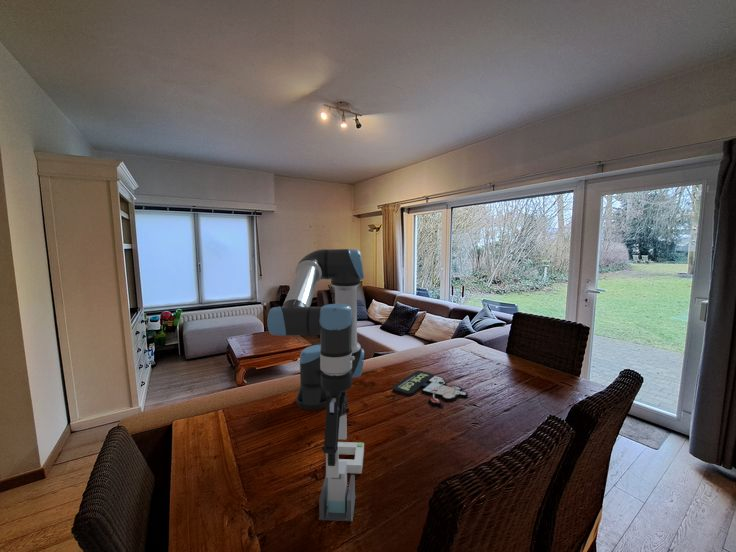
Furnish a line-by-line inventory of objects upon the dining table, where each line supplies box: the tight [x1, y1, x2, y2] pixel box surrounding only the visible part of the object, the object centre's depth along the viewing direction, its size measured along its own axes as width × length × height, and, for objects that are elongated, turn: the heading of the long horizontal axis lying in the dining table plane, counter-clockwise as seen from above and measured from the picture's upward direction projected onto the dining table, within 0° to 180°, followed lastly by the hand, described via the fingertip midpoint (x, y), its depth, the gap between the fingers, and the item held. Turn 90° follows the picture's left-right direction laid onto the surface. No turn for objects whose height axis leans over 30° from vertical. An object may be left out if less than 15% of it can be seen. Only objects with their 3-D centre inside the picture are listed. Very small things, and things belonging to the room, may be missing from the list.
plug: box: [328, 462, 348, 513], centre depth 73 cm, size 4×4×10 cm
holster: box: [318, 474, 357, 522], centre depth 73 cm, size 8×8×6 cm
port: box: [338, 441, 365, 474], centre depth 89 cm, size 10×10×3 cm
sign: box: [392, 370, 469, 409], centre depth 136 cm, size 27×2×30 cm
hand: (337, 455), depth 72 cm, fingers open, 13 cm apart
